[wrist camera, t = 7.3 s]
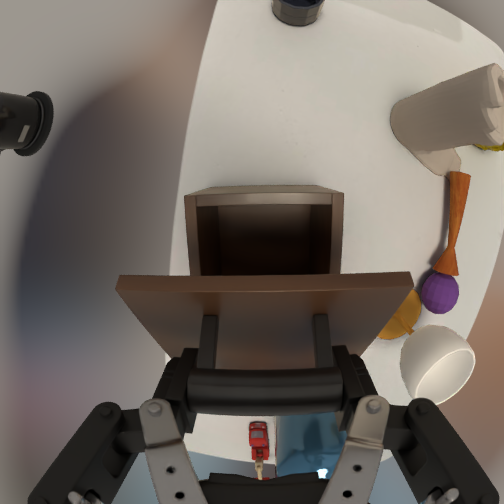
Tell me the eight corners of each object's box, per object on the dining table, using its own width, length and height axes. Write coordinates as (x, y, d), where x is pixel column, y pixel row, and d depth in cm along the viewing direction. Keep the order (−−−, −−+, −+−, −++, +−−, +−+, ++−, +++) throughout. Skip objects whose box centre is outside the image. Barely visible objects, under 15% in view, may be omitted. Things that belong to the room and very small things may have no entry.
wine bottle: (266, 385, 42) (263, 563, 13) (347, 368, 41) (399, 538, 12) (281, 432, 46) (284, 571, 17) (349, 418, 44) (382, 554, 15)
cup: (357, 315, 38) (398, 390, 23) (403, 273, 36) (466, 329, 21) (387, 348, 39) (427, 418, 24) (429, 310, 37) (484, 368, 22)
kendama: (486, 180, 27) (458, 318, 32) (457, 177, 33) (434, 303, 37) (463, 169, 26) (434, 322, 31) (433, 168, 32) (409, 305, 36)
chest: (210, 187, 34) (183, 195, 22) (317, 185, 33) (344, 193, 22) (220, 331, 39) (205, 387, 28) (311, 330, 39) (325, 386, 27)
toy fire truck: (266, 420, 45) (266, 461, 35) (270, 456, 48) (270, 492, 39) (248, 420, 45) (245, 462, 36) (255, 456, 49) (253, 492, 39)
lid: (119, 274, 12) (89, 387, 8) (409, 270, 11) (439, 385, 8) (205, 386, 28) (201, 432, 24) (326, 385, 27) (328, 431, 24)
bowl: (273, 26, 27) (274, 7, 23) (271, -6, 26) (271, -26, 21) (320, 28, 27) (327, 11, 22) (316, -4, 25) (321, -22, 21)
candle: (448, 192, 32) (554, 219, 13) (380, 125, 31) (484, 95, 11) (467, 155, 30) (570, 163, 11) (404, 89, 29) (502, 44, 10)
